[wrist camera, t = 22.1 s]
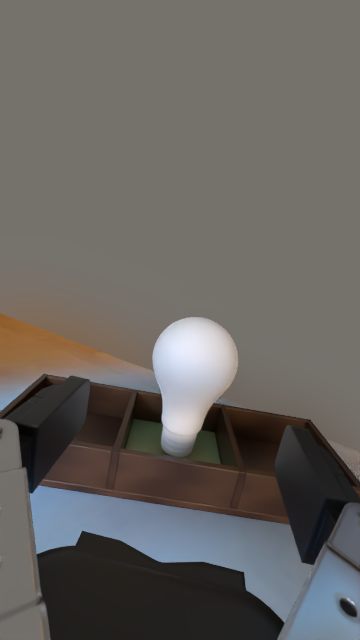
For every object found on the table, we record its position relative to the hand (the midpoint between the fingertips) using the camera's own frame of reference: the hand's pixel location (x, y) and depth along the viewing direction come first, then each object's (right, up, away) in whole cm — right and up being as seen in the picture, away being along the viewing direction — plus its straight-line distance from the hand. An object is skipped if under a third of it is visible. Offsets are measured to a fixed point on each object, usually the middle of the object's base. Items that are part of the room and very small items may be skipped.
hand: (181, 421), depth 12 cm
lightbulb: (0, -7, +11) cm, 13 cm away
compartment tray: (-1, -7, +11) cm, 13 cm away
